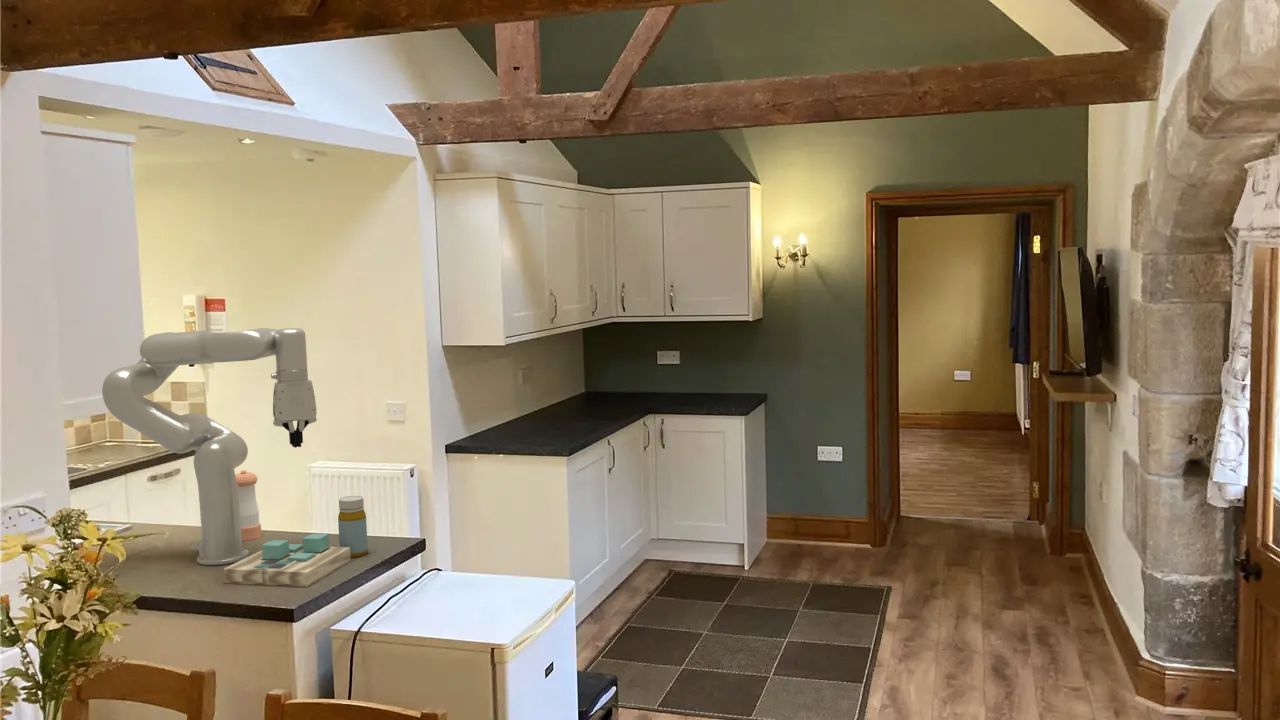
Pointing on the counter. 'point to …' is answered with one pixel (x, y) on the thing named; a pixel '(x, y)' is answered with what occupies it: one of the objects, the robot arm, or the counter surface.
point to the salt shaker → (248, 506)
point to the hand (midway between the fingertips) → (296, 446)
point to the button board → (287, 568)
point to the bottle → (353, 525)
